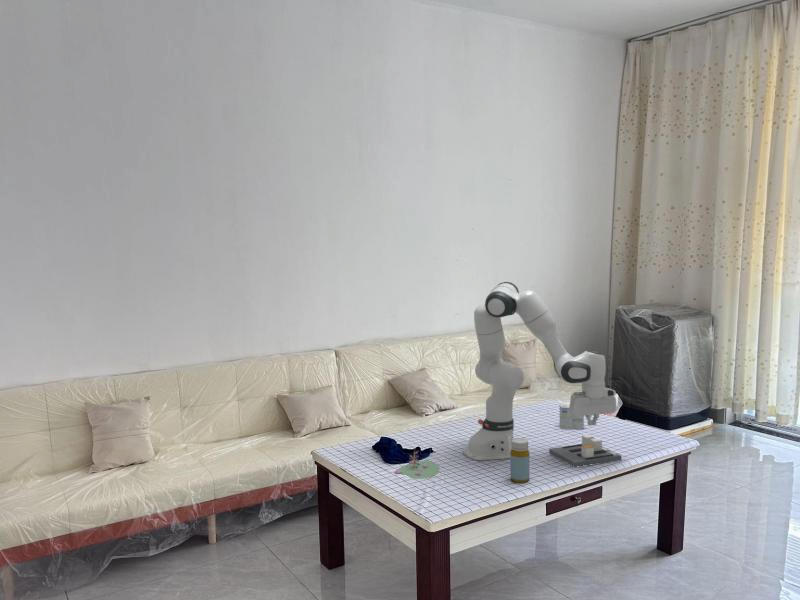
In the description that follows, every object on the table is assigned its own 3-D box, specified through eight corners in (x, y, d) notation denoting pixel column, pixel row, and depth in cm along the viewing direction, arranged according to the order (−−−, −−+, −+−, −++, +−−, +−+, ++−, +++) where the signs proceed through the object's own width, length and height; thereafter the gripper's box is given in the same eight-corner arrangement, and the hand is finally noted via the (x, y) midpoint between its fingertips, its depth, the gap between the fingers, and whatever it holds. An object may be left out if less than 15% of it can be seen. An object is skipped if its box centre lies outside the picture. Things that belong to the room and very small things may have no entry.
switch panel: (574, 467, 247) (574, 451, 247) (549, 453, 264) (549, 438, 264) (621, 460, 254) (621, 444, 254) (593, 446, 271) (593, 432, 271)
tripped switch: (585, 458, 251) (585, 448, 251) (581, 456, 254) (581, 445, 253) (593, 457, 252) (593, 446, 252) (588, 455, 255) (589, 444, 255)
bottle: (506, 479, 236) (506, 440, 235) (517, 474, 241) (517, 436, 239) (522, 484, 231) (522, 444, 230) (533, 479, 236) (533, 440, 234)
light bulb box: (581, 425, 303) (581, 403, 302) (584, 429, 296) (584, 407, 295) (558, 425, 304) (558, 403, 303) (561, 429, 297) (561, 406, 296)
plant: (392, 488, 232) (392, 464, 231) (367, 471, 250) (366, 449, 249) (449, 474, 244) (448, 452, 243) (420, 459, 262) (420, 438, 261)
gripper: (575, 394, 245) (574, 429, 247) (619, 391, 252) (617, 425, 253) (566, 390, 251) (565, 425, 252) (608, 387, 258) (607, 421, 259)
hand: (591, 425), depth 253 cm, fingers closed
